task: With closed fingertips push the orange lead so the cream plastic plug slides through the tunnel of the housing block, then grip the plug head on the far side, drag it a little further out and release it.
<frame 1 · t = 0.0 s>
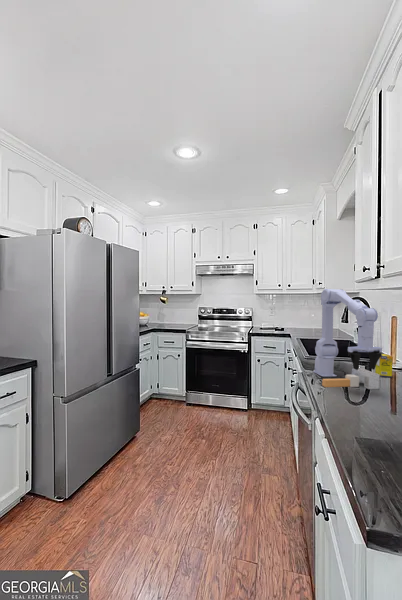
hand: (364, 369, 129), 10 cm above the countertop, tool pointing down, fingers open, 7 cm apart
plug: (351, 385, 140), on the countertop
housing: (364, 385, 141), on the countertop
supplement box: (383, 376, 158), on the countertop
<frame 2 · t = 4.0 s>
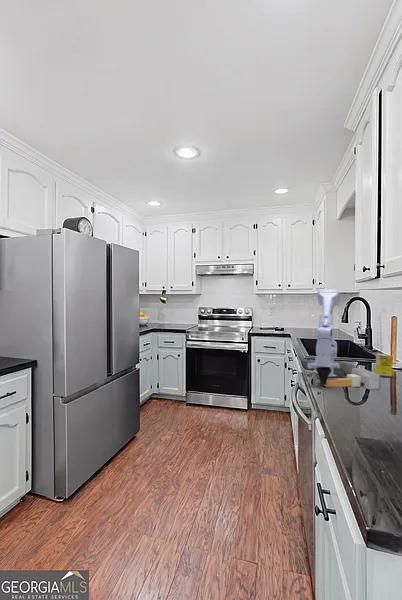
hand: (322, 383, 137), 1 cm above the countertop, tool pointing down, fingers closed
plug: (353, 385, 140), on the countertop, touching gripper
everything else where it was.
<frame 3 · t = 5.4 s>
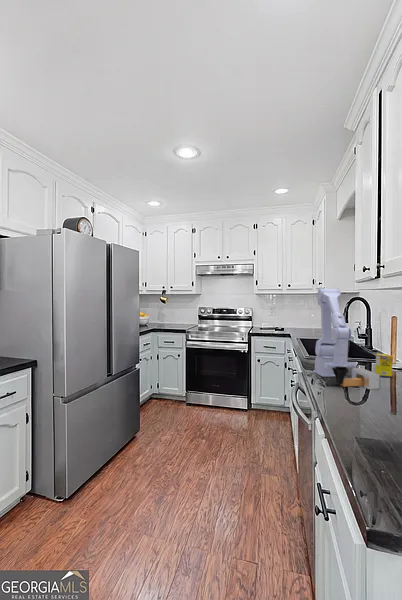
hand: (339, 383, 139), 1 cm above the countertop, tool pointing down, fingers closed
plug: (368, 384, 141), on the countertop, touching gripper
everything else where it was.
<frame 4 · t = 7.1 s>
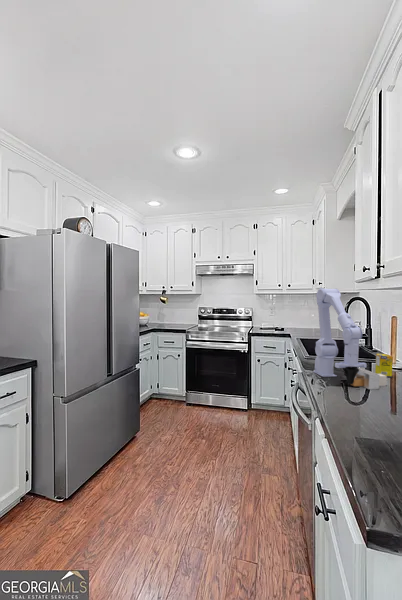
hand: (350, 383, 139), 1 cm above the countertop, tool pointing down, fingers closed
plug: (379, 384, 142), on the countertop, touching gripper
everything else where it was.
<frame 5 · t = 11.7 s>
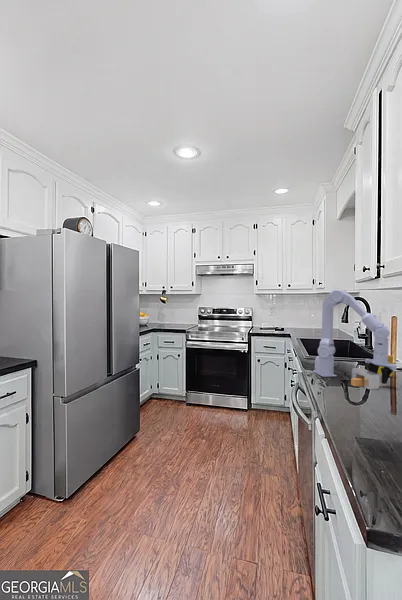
hand: (379, 381, 142), 1 cm above the countertop, tool pointing down, fingers closed on plug, 5 cm apart
plug: (379, 384, 142), on the countertop, touching gripper
everything else where it was.
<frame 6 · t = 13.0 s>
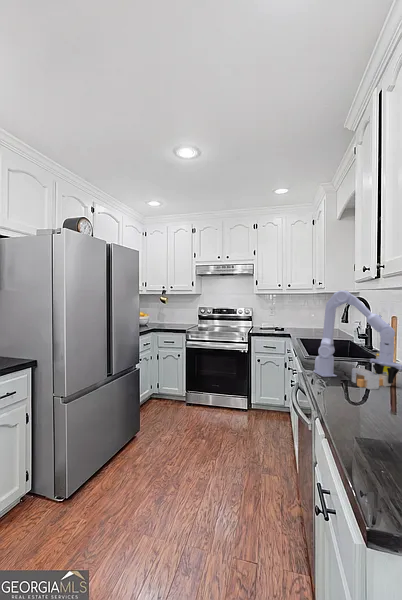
hand: (385, 381, 142), 1 cm above the countertop, tool pointing down, fingers closed on plug, 4 cm apart
plug: (383, 384, 142), on the countertop, touching gripper
everything else where it was.
when the fingers open (1 cm above the countertop, at t = 13.8 s): plug stays where it is, on the countertop.
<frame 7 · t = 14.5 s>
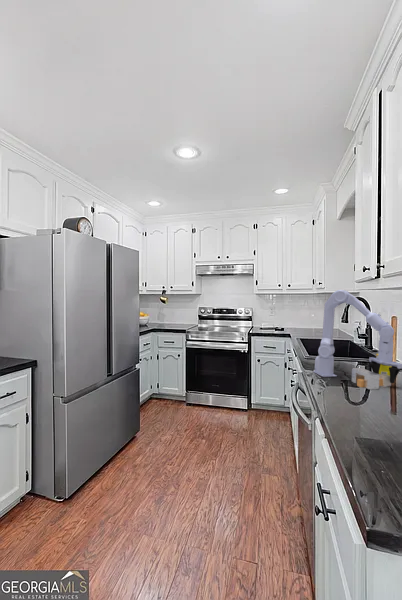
hand: (384, 380, 142), 2 cm above the countertop, tool pointing down, fingers open, 7 cm apart
plug: (383, 384, 142), on the countertop
everything else where it was.
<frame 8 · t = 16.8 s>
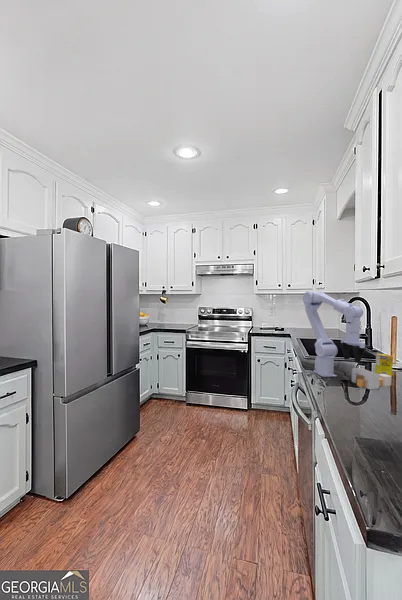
hand: (351, 360, 143), 10 cm above the countertop, tool pointing down, fingers open, 7 cm apart
nothing on the countertop moved.
at the end: plug inside the target area (0.2 cm from its centre), on the countertop; the gripper is holding nothing; plug tilted 0° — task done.
